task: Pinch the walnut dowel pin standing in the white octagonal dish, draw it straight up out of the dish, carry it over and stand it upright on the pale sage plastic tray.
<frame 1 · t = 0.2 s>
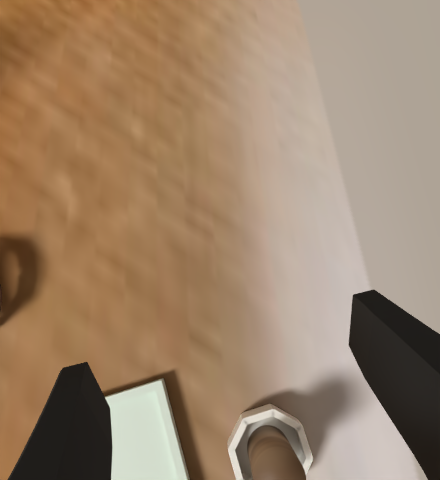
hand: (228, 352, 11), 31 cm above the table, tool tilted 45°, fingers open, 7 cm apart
white octagonal dish: (267, 446, 39), on the table
dowel pin: (267, 447, 38), resting on white octagonal dish
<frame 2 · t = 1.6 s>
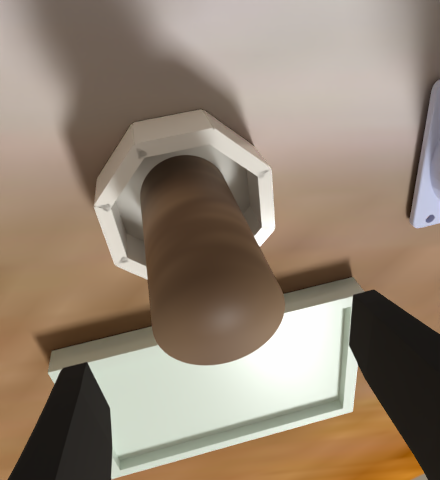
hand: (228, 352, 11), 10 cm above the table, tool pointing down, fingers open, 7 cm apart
white octagonal dish: (183, 191, 19), on the table
sage tray: (221, 376, 27), on the table
dowel pin: (184, 196, 18), resting on white octagonal dish
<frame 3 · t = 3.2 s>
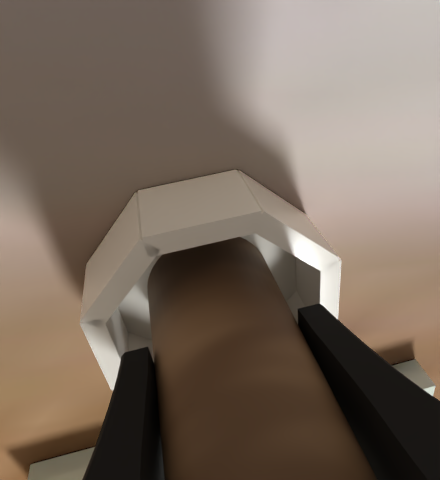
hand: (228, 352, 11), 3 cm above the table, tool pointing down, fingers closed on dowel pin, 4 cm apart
white octagonal dish: (206, 274, 14), on the table
sage tray: (244, 472, 22), on the table
dowel pin: (208, 284, 13), resting on white octagonal dish, touching gripper
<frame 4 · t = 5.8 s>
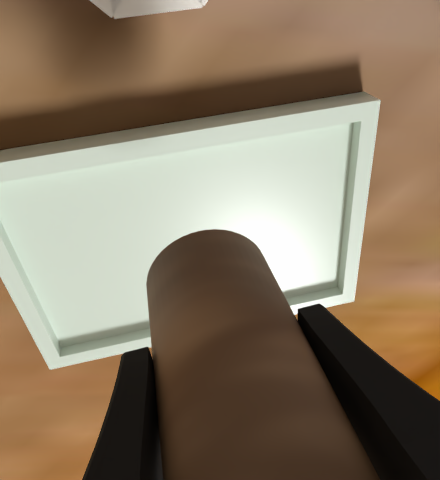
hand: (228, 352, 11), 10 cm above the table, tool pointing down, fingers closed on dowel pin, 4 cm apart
sage tray: (190, 234, 21), on the table
dowel pin: (208, 281, 13), point 8 cm above the table, touching gripper
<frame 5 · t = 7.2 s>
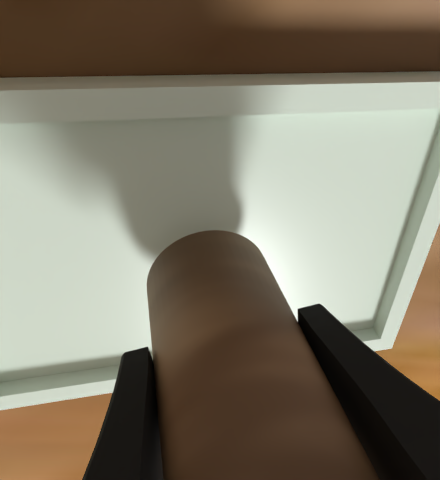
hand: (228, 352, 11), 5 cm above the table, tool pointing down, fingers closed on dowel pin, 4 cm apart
sage tray: (197, 243, 15), on the table
dowel pin: (208, 282, 13), point 2 cm above the table, touching gripper
when the fingers open (5 cm above the table, at t = 8.2 s): dowel pin stays where it is, resting on sage tray.
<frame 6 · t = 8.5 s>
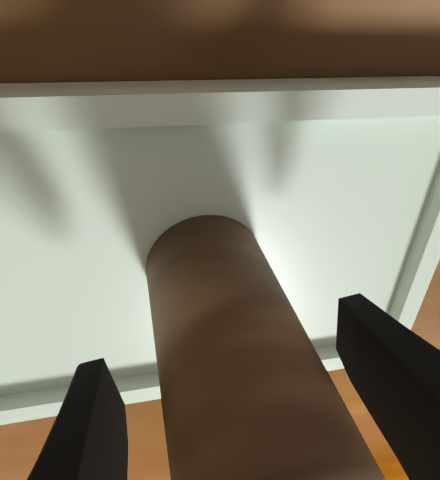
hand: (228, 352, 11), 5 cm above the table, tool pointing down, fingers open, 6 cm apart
sage tray: (199, 253, 15), on the table
dowel pin: (204, 264, 14), point 1 cm above the table, touching sage tray
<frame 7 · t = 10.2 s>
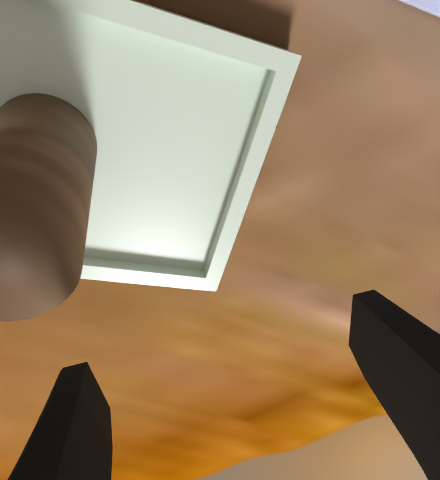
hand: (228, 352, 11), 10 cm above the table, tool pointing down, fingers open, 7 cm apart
sage tray: (47, 139, 17), on the table
dowel pin: (45, 144, 16), point 1 cm above the table, touching sage tray
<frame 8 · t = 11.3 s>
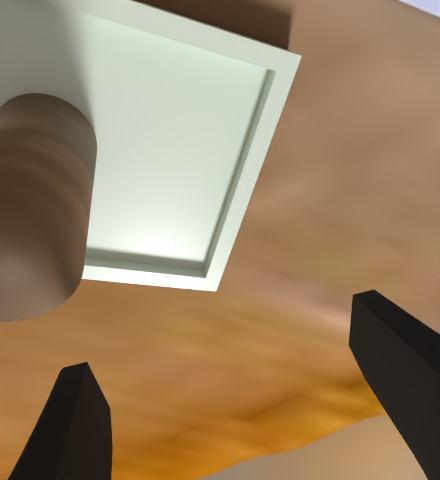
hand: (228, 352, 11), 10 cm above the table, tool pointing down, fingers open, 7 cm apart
sage tray: (47, 139, 17), on the table
dowel pin: (45, 144, 16), point 1 cm above the table, touching sage tray
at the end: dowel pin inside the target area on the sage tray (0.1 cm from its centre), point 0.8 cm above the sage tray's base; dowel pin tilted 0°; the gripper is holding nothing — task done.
